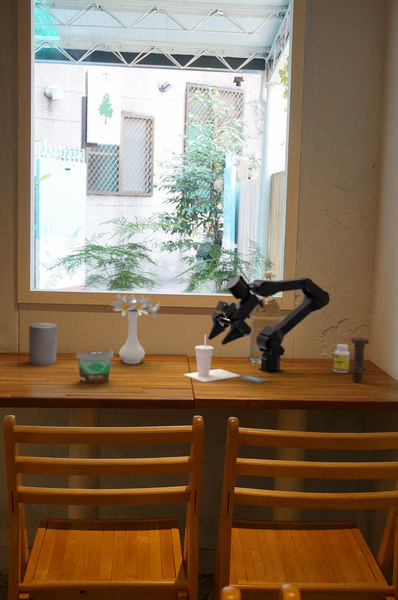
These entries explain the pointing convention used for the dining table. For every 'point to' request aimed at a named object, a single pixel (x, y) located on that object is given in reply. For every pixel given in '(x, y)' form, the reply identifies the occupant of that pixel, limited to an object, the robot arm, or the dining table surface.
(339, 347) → the supplement bottle
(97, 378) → the food container
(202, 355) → the smoothie
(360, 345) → the bolt
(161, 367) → the dining table surface
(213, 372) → the paper
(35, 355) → the pillar candle
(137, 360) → the flower vase
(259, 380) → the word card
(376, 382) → the dining table surface
